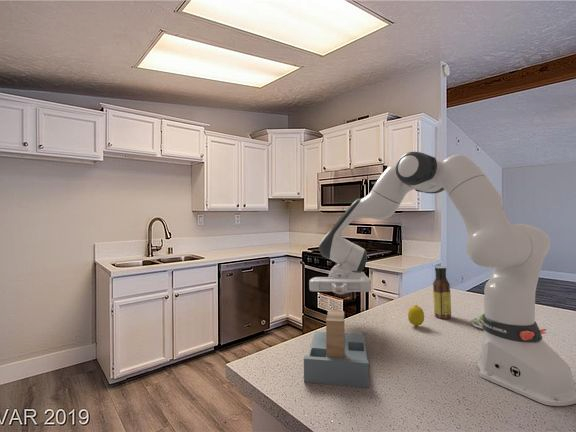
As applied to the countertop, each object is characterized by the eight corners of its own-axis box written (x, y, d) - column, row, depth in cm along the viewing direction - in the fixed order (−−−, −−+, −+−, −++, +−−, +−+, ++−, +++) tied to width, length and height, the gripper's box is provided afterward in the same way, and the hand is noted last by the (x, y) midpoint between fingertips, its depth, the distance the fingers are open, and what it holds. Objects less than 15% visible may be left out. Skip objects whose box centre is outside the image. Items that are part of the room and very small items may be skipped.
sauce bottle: (452, 315, 131) (452, 266, 130) (450, 320, 125) (450, 269, 125) (434, 313, 134) (434, 265, 134) (431, 317, 129) (431, 267, 129)
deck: (315, 340, 109) (314, 322, 109) (364, 343, 106) (364, 324, 106) (304, 382, 83) (303, 358, 83) (368, 387, 80) (368, 363, 80)
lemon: (421, 324, 122) (421, 303, 122) (426, 329, 117) (426, 307, 116) (406, 323, 123) (406, 302, 122) (410, 329, 117) (410, 307, 117)
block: (328, 352, 93) (328, 310, 92) (344, 353, 92) (344, 311, 91) (326, 366, 85) (326, 320, 84) (344, 367, 84) (343, 321, 84)
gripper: (310, 271, 118) (305, 279, 104) (368, 272, 114) (371, 279, 101) (311, 289, 118) (306, 299, 104) (369, 290, 114) (372, 300, 101)
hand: (338, 289), depth 102 cm, fingers closed
